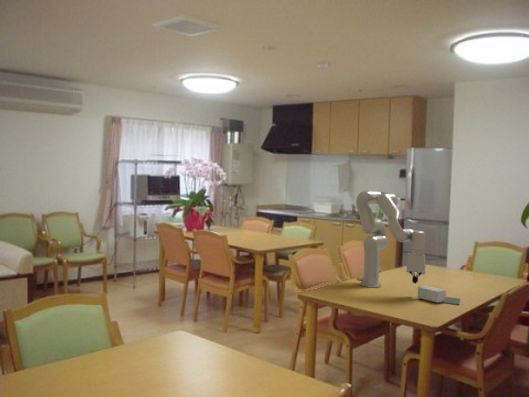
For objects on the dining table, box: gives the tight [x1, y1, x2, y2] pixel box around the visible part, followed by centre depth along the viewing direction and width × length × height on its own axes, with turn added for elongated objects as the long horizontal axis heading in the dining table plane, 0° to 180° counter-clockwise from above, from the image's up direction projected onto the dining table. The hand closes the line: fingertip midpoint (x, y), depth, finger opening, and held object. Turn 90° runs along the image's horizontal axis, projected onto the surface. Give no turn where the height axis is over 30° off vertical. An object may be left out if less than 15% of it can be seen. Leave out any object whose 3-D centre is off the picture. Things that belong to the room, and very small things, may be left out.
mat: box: [424, 296, 461, 306], centre depth 281 cm, size 18×14×1 cm
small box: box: [417, 285, 447, 303], centre depth 279 cm, size 8×6×13 cm
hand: (414, 283), depth 287 cm, fingers closed
